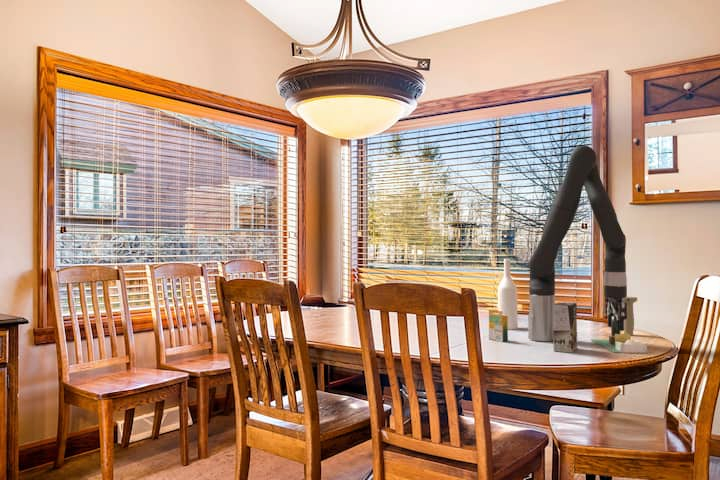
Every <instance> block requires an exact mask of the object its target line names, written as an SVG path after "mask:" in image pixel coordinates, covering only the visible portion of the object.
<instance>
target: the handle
mask: <svg viewBox="0 0 720 480" xmlns="http://www.w3.org/2000/svg"><path fill="white" fill-rule="evenodd" d="M637 301H638V297H637V296H627V297H626V298H622V302H626V303H627V319H625V320H624V331H623V334H631V336H633V335H634V329H635V328H634V327H635V315H634V303H637Z"/></svg>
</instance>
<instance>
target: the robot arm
mask: <svg viewBox="0 0 720 480" xmlns="http://www.w3.org/2000/svg"><path fill="white" fill-rule="evenodd" d="M597 156H598V155H597V153H596V151H595V150H594V149H593V148H592V146H591V147H590V146H588V145H580V146H578V147H576V148H575V149H573V151H572V152H571V153H570V156H569V160H568V163H567V168H566V172H565V175H564V178H563V179H562V183H561V184H560V186H559V188H558V190H557V192H556V194H555V196H554V199H553V201H552V202H551V206H550V208H549V211H548V213H547V216H546V219H545V223H544V225H543V230H542V234H541V237H540V240H539V242H538V244H537V246H536V248H535V250H534V252H533V254H532V256H531V257H530V259H529V261H528V269H529V313H528V317H527V318H528V326H527V328H528V330H527V331H528V339H530V340H531V341H534V342H535V341H537V342H552V341H553V342H554V331H553V305H554V304H556V295H555V292H556V269H555V268H556V264H555V263H556V259H557V256H558V252H559V249H560V247H561V245H562V242H563V241H564V239H565V237H566V235H567V233H568V232H569V230H570V228H571V226H572V224H573V222H574V220H575V218H576V217H575V216H576V214H577V212H578V208H579V204H580V201H581V198H582V193H583V188H584V189H585V192H586V195H587V198H588V201H589V205H590V208H591V211H592V213H593V215H594V219H595V220H596V222H597V224H598V225H597V226H598V227H599V231H600V234H601V237H602V240H603V242H604V247H605V249H604V250H605V258H604V275H603V297H605V299H604V313H605V315H606V317H607V327H609V328H611V316H616V318H617V330H618V331H620V332H624V320H625V319H627V303H626V302H622V298H626V297H628V289H627V288H628V279H627V265H626V264H627V263H626V248H627V247H626V246H627V245H626V243H627V238H626V235H625V233H624V231H623V230H622V227H621V225H620V223H619V220H618V217H617V212H616V209H615V208H614V205H613V202H612V201H611V197H610V196H609V195H608V192H607V190H606V188H605V186H604V184H603V181H602V179H601V176H600V172H599V167H598V163H597V161H598V157H597Z"/></svg>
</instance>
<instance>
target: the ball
mask: <svg viewBox="0 0 720 480" xmlns="http://www.w3.org/2000/svg"><path fill="white" fill-rule="evenodd" d="M625 344H637V343H636V341H635V340H634V339H632V338H631V339H629V340H627V341H626V342H625Z"/></svg>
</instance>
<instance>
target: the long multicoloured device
mask: <svg viewBox="0 0 720 480" xmlns="http://www.w3.org/2000/svg"><path fill="white" fill-rule="evenodd" d="M610 329H611V330H610V331H611V335H610V336H613V337H615V345H616V342H621V343H623V344H625V342H626V341H627V340H629V339H631V340H632V335H631V334H624V333H621V331H618V330H617V318H616V315H615V316H611V327H610Z"/></svg>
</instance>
